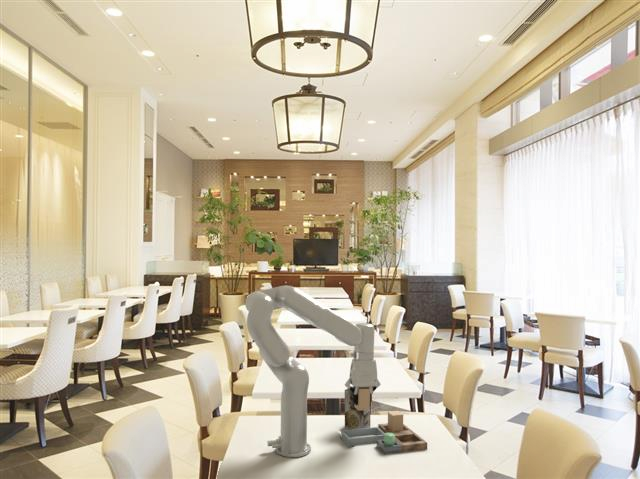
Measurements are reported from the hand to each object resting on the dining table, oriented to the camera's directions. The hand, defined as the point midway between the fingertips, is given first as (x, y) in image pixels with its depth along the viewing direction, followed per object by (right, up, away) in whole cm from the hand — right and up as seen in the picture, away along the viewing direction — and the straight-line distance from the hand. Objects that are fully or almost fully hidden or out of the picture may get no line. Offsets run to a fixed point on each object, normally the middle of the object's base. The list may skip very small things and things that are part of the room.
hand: (362, 403), depth 187 cm
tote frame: (+1, -14, 0) cm, 14 cm away
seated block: (+14, -14, +5) cm, 20 cm away
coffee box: (-1, -15, +12) cm, 19 cm away
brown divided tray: (+15, -14, 0) cm, 21 cm away
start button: (+9, -13, -10) cm, 19 cm away
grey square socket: (+9, -14, -10) cm, 19 cm away
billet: (0, -2, 0) cm, 2 cm away
